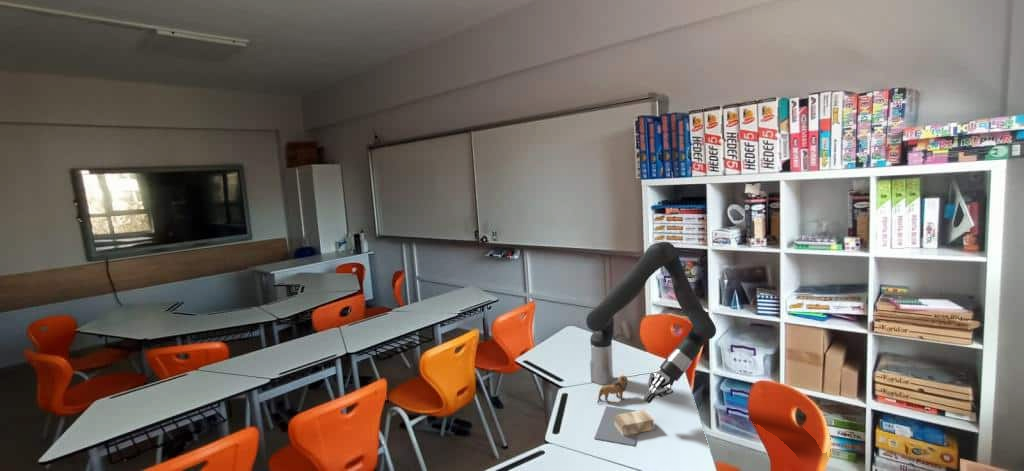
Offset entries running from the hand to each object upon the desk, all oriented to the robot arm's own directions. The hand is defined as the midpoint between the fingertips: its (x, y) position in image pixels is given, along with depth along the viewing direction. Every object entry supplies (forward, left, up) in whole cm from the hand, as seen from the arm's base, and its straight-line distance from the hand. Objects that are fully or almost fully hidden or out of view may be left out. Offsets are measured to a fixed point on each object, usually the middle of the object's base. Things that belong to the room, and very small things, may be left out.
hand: (646, 401), depth 167 cm
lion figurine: (-15, +16, -10) cm, 24 cm away
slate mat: (-9, -2, -10) cm, 14 cm away
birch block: (+1, +1, -7) cm, 8 cm away
